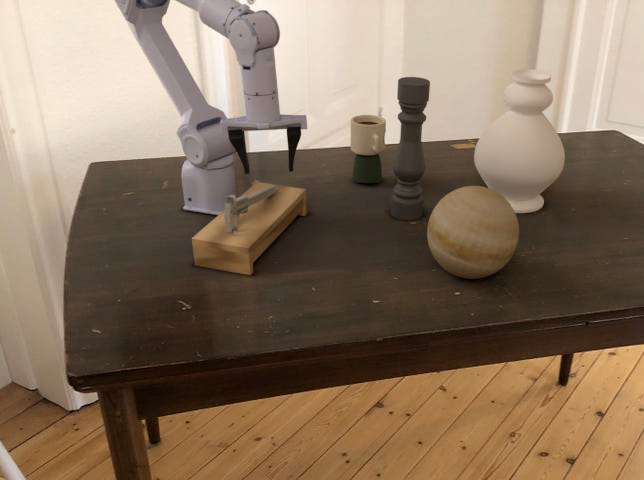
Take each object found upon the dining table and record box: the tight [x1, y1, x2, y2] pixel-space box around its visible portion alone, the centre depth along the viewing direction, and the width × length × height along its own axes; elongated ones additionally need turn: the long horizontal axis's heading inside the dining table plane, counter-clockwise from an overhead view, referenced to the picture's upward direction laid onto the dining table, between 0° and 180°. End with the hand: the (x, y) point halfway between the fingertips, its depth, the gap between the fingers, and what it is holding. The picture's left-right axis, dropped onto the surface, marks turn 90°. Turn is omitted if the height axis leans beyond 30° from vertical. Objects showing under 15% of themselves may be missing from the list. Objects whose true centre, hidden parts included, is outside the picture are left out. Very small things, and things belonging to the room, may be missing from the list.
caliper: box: [225, 185, 278, 233], centre depth 128 cm, size 20×1×6 cm, turn 166°
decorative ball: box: [426, 185, 520, 280], centre depth 121 cm, size 15×15×15 cm
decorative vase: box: [473, 68, 566, 214], centre depth 145 cm, size 18×18×25 cm
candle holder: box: [390, 76, 431, 221], centre depth 137 cm, size 6×6×25 cm
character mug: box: [350, 114, 387, 185], centre depth 153 cm, size 11×7×13 cm, turn 24°
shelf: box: [191, 181, 308, 276], centre depth 131 cm, size 10×26×5 cm, turn 165°
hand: (269, 171), depth 131 cm, fingers open, 7 cm apart
